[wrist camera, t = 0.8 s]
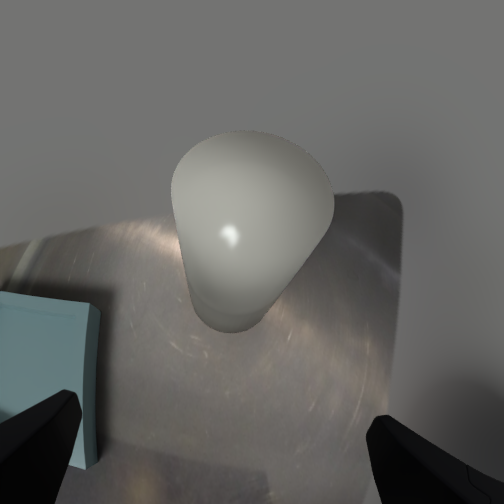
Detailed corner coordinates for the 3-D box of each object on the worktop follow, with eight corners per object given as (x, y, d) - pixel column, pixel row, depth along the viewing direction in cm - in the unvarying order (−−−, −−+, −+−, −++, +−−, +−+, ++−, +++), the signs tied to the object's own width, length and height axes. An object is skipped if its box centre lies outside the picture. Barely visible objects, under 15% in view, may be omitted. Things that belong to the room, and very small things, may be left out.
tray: (97, 462, 15) (85, 469, 13) (-14, 422, 13) (-29, 422, 11) (100, 311, 20) (89, 303, 18) (-5, 296, 18) (-20, 287, 16)
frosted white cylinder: (271, 333, 21) (346, 265, 9) (189, 331, 20) (160, 258, 9) (268, 259, 24) (321, 139, 12) (193, 256, 23) (182, 127, 11)
